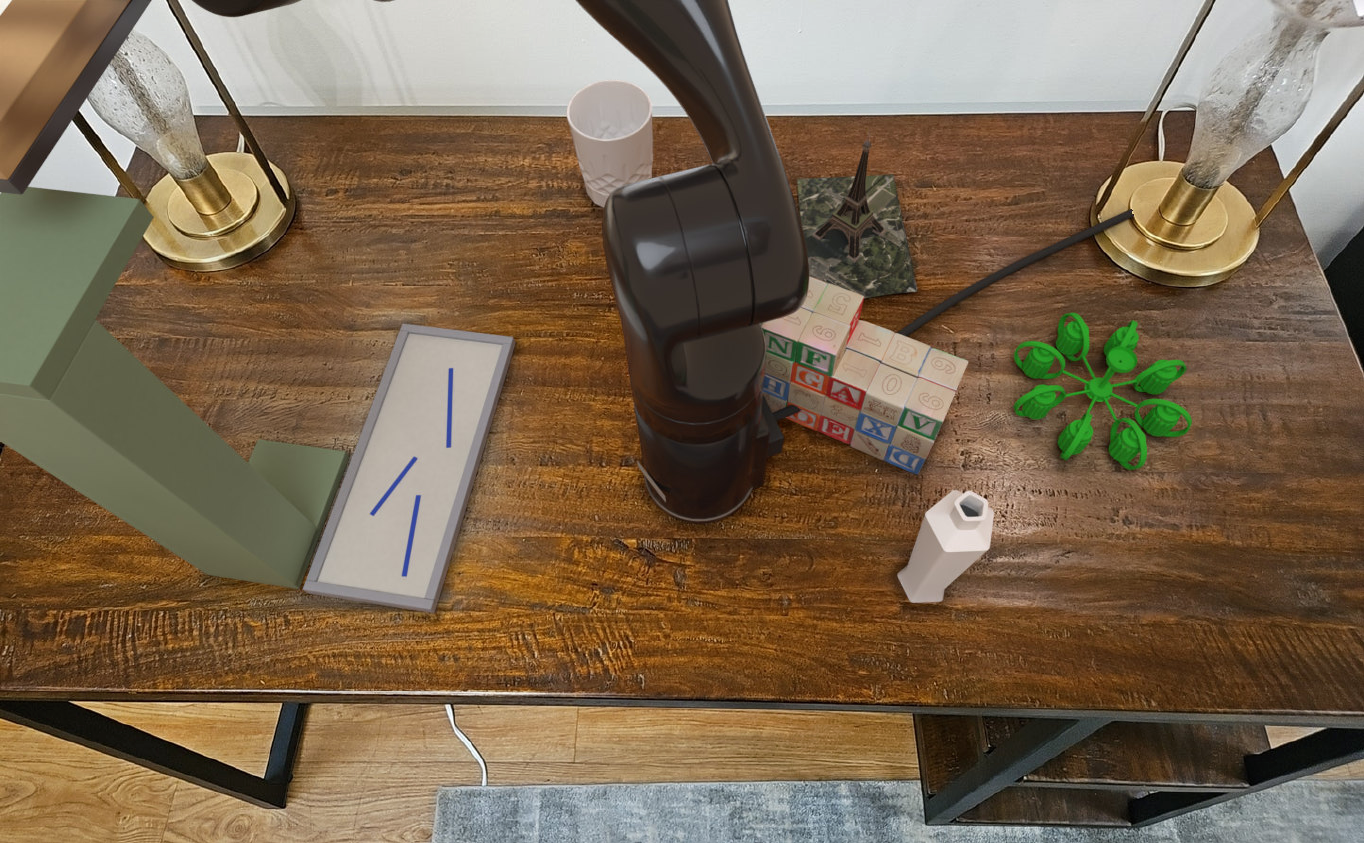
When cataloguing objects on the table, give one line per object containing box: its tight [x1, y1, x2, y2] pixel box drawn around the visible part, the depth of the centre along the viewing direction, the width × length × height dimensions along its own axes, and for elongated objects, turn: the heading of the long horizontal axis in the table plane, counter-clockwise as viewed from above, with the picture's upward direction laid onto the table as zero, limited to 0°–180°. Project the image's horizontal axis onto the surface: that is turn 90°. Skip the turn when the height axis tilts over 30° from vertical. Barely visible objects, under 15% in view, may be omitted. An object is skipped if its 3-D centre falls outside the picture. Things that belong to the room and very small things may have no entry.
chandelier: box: [1013, 312, 1193, 471], centre depth 74 cm, size 15×15×7 cm
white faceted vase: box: [897, 489, 995, 604], centre depth 63 cm, size 5×4×15 cm
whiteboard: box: [302, 323, 516, 614], centre depth 76 cm, size 26×11×1 cm, turn 171°
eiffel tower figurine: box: [796, 131, 919, 299], centre depth 80 cm, size 15×10×13 cm
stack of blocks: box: [760, 277, 969, 476], centre depth 73 cm, size 21×6×12 cm, turn 62°
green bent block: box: [0, 186, 351, 590], centre depth 60 cm, size 12×8×32 cm, turn 171°
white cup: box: [566, 79, 654, 209], centre depth 86 cm, size 8×8×10 cm
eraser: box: [0, 0, 152, 195], centre depth 47 cm, size 19×4×3 cm, turn 171°
